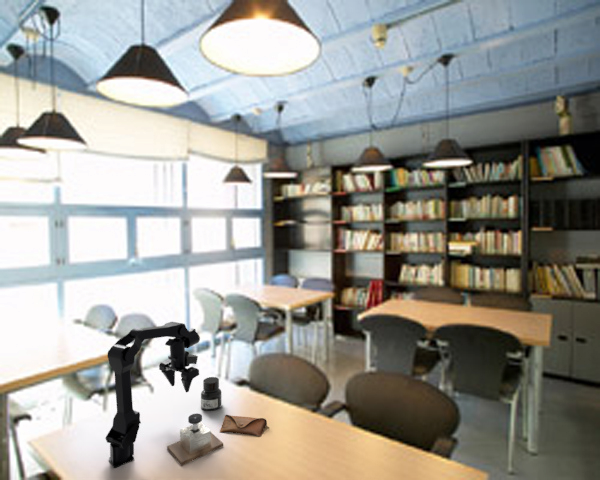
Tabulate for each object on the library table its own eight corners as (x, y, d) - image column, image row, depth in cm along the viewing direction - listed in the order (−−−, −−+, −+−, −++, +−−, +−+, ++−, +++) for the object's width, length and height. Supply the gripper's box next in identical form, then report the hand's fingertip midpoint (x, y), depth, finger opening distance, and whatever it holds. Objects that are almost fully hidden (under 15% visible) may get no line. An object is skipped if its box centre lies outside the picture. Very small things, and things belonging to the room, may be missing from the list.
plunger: (192, 439, 127) (192, 422, 127) (186, 433, 131) (186, 416, 131) (204, 433, 131) (204, 417, 130) (198, 428, 134) (198, 412, 134)
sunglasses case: (217, 432, 140) (220, 414, 143) (222, 432, 147) (225, 414, 150) (262, 437, 138) (264, 417, 141) (265, 436, 144) (267, 418, 147)
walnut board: (181, 465, 121) (181, 462, 121) (167, 449, 130) (167, 446, 130) (223, 446, 132) (223, 443, 132) (207, 432, 141) (207, 429, 141)
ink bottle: (196, 409, 158) (196, 382, 157) (207, 400, 166) (206, 374, 166) (215, 413, 155) (215, 385, 155) (225, 403, 164) (225, 377, 163)
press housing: (190, 454, 125) (189, 439, 125) (180, 444, 131) (180, 429, 131) (210, 445, 131) (210, 430, 131) (200, 435, 137) (200, 421, 136)
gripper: (208, 350, 148) (210, 386, 150) (179, 341, 159) (181, 375, 160) (186, 360, 139) (188, 398, 141) (157, 350, 149) (159, 386, 151)
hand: (180, 388), depth 148 cm, fingers open, 9 cm apart
